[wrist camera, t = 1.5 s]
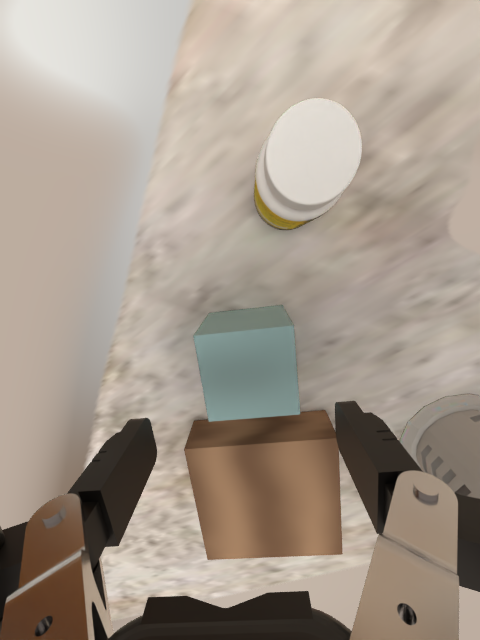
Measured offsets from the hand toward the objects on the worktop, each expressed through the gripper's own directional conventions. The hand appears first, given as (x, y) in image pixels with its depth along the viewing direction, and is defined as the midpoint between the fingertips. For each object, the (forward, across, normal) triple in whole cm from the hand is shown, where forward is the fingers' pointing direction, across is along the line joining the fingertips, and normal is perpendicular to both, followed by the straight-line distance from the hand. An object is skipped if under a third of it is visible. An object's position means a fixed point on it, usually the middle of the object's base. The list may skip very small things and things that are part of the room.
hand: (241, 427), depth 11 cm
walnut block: (+11, 0, +13) cm, 18 cm away
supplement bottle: (+11, -4, -11) cm, 16 cm away
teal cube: (+11, 0, 0) cm, 11 cm away
